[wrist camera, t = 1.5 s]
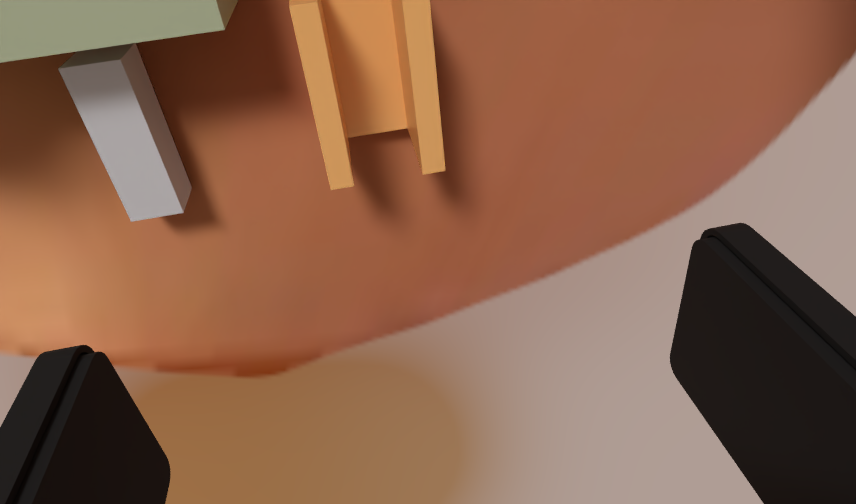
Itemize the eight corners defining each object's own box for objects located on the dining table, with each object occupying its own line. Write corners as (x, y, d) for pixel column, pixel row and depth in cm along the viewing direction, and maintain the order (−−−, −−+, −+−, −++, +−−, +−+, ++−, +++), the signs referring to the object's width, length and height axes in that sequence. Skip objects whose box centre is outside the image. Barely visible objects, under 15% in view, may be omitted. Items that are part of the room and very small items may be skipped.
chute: (405, -44, 21) (428, -14, 17) (423, 115, 24) (445, 170, 20) (293, -28, 20) (288, 5, 16) (327, 130, 24) (330, 190, 20)
